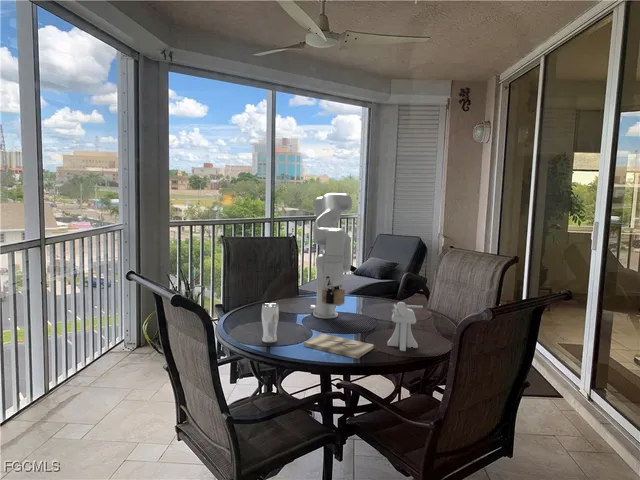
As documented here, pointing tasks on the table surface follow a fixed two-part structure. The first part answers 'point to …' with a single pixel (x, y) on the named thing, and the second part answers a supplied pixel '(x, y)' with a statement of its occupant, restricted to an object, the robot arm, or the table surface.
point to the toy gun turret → (403, 326)
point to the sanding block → (335, 297)
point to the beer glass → (269, 322)
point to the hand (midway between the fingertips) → (333, 301)
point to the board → (339, 345)
